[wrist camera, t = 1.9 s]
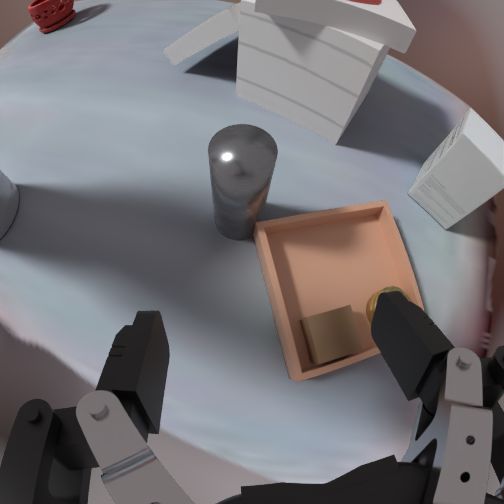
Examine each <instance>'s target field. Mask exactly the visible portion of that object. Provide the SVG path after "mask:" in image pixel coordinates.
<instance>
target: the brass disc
mask: <svg viewBox="0 0 504 504" xmlns="http://www.w3.org/2000/svg"><path fill="white" fill-rule="evenodd" d="M391 291H400V292H401V293H402V294H403V295H404V296H405V297H406V298H407V299H408V301H409V298H408V296H407V294H406V293H405V292H404V291H403V290H402V289H400V288H398V287H395V286H389V287H386V288H384V289H382V290H380V291H378V292H376V293H374V294H373V295H372V296H371V297H370V298H369V300H368V302H367V306H366V315H367V318H368V321H369V322H370V324H371V323H372V319H373V315H374V312H375V308H376V303H377V299H378V296H379V294H380V293H383V292H391Z"/></svg>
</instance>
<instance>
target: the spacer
mask: <svg viewBox="0 0 504 504" xmlns="http://www.w3.org/2000/svg"><path fill="white" fill-rule="evenodd" d="M277 153H278V150H277V145H276V143H275V141H274V139H273V138H272V137H271V135H270V134H268V133H267V132H266V131H264V130H263V129H261V128H258V127H256V126H252V125H246V124H238V125H232V126H228V127H226V128H223V129H222V130H220V131H219V132H217V133H216V134H215V135H214V136H213V137H212V139H211V141H210V143H209V147H208V154H209V165H210V175H211V186H212V196H213V205H214V215H215V223H216V226H217V228H218V230H219V231H220V232H221V233H222V234H223V235H224V236H225V237H227V238H230V239H233V240H244V239H247V238H249V237H251V236H253V233H254V229H255V224H256V222H261V221H262V216H263V212H264V208H265V204H266V200H267V196H268V192H269V187H270V183H271V179H272V175H273V171H274V167H275V162H276V158H277Z"/></svg>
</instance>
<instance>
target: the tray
mask: <svg viewBox="0 0 504 504" xmlns="http://www.w3.org/2000/svg"><path fill="white" fill-rule="evenodd" d="M253 237H254V240H255V244H256V248H257V252H258V256H259V260H260V264H261V268H262V272H263V276H264V280H265V283H266V287H267V291H268V295H269V299H270V303H271V307H272V311H273V315H274V319H275V323H276V327H277V331H278V335H279V339H280V343H281V347H282V351H283V355H284V359H285V363H286V367H287V371H288V375H289V378H290V379H292V380H293V381H295V382H299V381H302V380H306V379H309V378H312V377H315V376H319V375H322V374H325V373H328V372H331V371H334V370H337V369H339V368H342V367H345V366H348V365H351V364H353V363H356V362H359V361H361V360H364V359H367V358H369V357H372V356H374V355H377V354H379V353H381V352H380V351H379V349H378V347H377V346H376V344H375V342H374V341H373V339H372V336H371V324H370V322H369V321H368V318H367V315H366V306H367V302H368V300H369V298H370V297H371V296H372V295H373V294H374V293H376V292H378V291H380V290H382V289H384V288H386V287H389V286H395V287H398V288H400V289H402V290H403V291H404V292H405V293H406V294H407V296H408V298H409V301H411V302H413V303H414V304H416V305H417V306H419V307H421V308H422V309H423V311H424V307H423V304H422V300H421V296H420V293H419V290H418V286H417V283H416V280H415V276H414V273H413V270H412V267H411V264H410V261H409V258H408V255H407V252H406V250H405V247H404V244H403V241H402V238H401V236H400V233H399V231H398V228H397V225H396V223H395V220H394V218H393V215H392V213H391V210H390V208H389V206H388V203H387V201H386V200H385V201H378V202H372V203H365V204H359V205H353V206H347V207H341V208H335V209H329V210H323V211H317V212H311V213H305V214H299V215H294V216H288V217H283V218H277V219H272V220H266V221H261V222H256V224H255V229H254V233H253ZM347 305H351V308H352V312H353V316H354V319H355V323H356V327H357V331H358V334H359V338H360V342H361V346H362V350H359V351H356V352H353V353H351V354H348V355H345V356H342V357H339V358H336V359H333V360H330V361H327V362H324V363H321V364H315V363H311V362H310V358H309V354H308V350H307V346H306V342H305V338H304V335H303V331H302V327H301V323H300V320H301V319H303V318H306V317H309V316H313V315H316V314H320V313H323V312H327V311H330V310H334V309H337V308H341V307H344V306H347ZM424 312H425V311H424Z"/></svg>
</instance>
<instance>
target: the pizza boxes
mask: <svg viewBox="0 0 504 504" xmlns="http://www.w3.org/2000/svg"><path fill="white" fill-rule="evenodd" d="M237 31H239V40H238V59H237V79H236V96H239V97H241V98H243V99H246V100H248V101H250V102H253V103H255V104H257V105H259V106H261V107H264V108H266V109H268V110H270V111H272V112H274V113H276V114H278V115H281V116H283V117H285V118H287V119H289V120H291V121H293V122H295V123H297V124H298V125H300V126H302V127H304V128H306V129H308V130H310V131H312V132H314V133H315V134H317V135H319V136H321V137H323V138H325V139H326V140H328V141H330V142H332V143H333V144H335V145H336V143H337V142H338V140H339V139H340V137H341V136H342V134H343V132H344V131H345V129H346V128H347V126H348V124H349V123H350V121H351V120H352V118H353V116H354V115H355V113H356V112H357V110H358V108H359V107H360V105H361V104H362V102H363V100H364V99H365V97H366V95H367V94H368V92H369V90H370V88H371V86H372V84H373V82H374V80H375V78H376V76H377V73H378V71H379V69H380V67H381V65H382V63H383V61H384V59H385V57H386V55H387V52H388V50H389V48H393V49H395V50H397V51H400V52H402V53H405V52H406V50H407V49H408V46H409V44H410V43H411V40H412V38H413V37H414V35H415V33H416V29H415V28H414V26H413V24H412V23H411V21H410V20H409V18H408V17H407V15H406V14H405V12H404V11H403V9H402V8H401V6H400V5H399V3H398V2H397V1H396V0H241V2H240V3H238V4H236V5H233V6H231V7H229V8H227V9H225V10H223V11H221V12H220V13H218V14H216V15H215V16H213V17H211V18H210V19H208V20H206V21H205V22H203V23H202V24H200V25H198V26H197V27H195V28H194V29H192V30H191V31H189V32H188V33H186V34H185V35H184V36H182V37H181V38H179V39H178V40H176V41H175V42H174V43H172V44H171V45H170V46H168V47H167V48H166V49H164V50H163V52H164V53H165V54H166V56H167V57H168V58H169V60H170V61H171V62H172V64H173V65H174V66H175V65H176V64H178V63H179V62H181V61H183V60H184V59H186V58H188V57H189V56H191V55H193V54H195V53H196V52H198V51H200V50H202V49H203V48H205V47H207V46H209V45H211V44H213V43H215V42H216V41H218V40H220V39H222V38H224V37H226V36H228V35H230V34H232V33H234V32H237Z"/></svg>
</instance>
